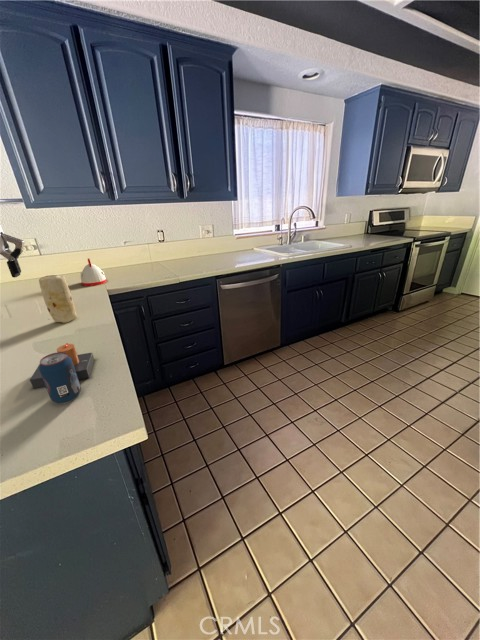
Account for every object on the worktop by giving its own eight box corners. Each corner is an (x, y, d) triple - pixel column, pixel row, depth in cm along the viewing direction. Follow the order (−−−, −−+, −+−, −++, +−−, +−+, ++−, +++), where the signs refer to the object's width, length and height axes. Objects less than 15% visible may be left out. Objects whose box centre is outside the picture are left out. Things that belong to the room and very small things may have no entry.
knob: (77, 366, 77) (71, 349, 75) (60, 368, 76) (54, 351, 74) (80, 358, 81) (75, 341, 79) (64, 361, 80) (58, 344, 78)
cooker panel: (33, 388, 73) (29, 379, 72) (44, 368, 82) (41, 360, 80) (89, 378, 77) (86, 369, 76) (94, 360, 86) (92, 351, 84)
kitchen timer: (104, 278, 177) (99, 255, 170) (108, 283, 166) (102, 259, 160) (81, 281, 170) (75, 258, 164) (83, 287, 159) (76, 262, 153)
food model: (78, 315, 119) (65, 272, 111) (77, 321, 114) (64, 276, 106) (52, 320, 115) (37, 275, 107) (51, 326, 110) (34, 279, 102)
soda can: (52, 393, 71) (37, 355, 66) (81, 384, 74) (69, 348, 69) (51, 409, 66) (35, 369, 61) (82, 399, 69) (69, 360, 64)
